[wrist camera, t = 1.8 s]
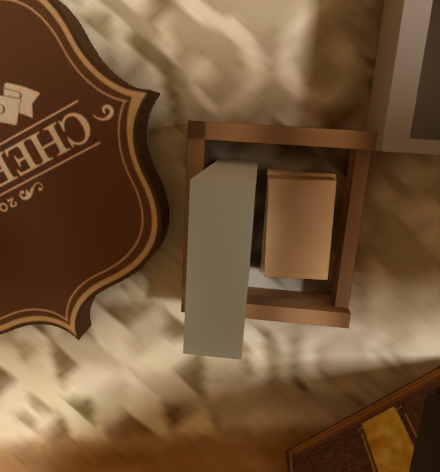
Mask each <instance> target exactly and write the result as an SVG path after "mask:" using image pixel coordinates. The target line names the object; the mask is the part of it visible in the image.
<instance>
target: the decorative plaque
mask: <svg viewBox="0 0 440 472" xmlns="http://www.w3.org/2000/svg"><path fill="white" fill-rule="evenodd" d="M159 95H160V93H157V92H154V91H151V90H144V89H139V88H135V87H133V86H131V85H129V84H128V83H127V82H125V81H123V80H122V79H121V78H120V77H118V76H117V75H116V74H114V73H113V72H112V70H110V69H109V68H108V66H107V65H106V64H105V63H104V62H103V60H102V59H101V58H100V56H99V55H98V53H97V52H96V50H95V49H94V47H93V45H92V44H91V42H90V40H89V38H88V36H87V35H86V33H85V31H84V29H83V27H82V26H81V24H80V22H79V21H78V19H77V18H76V17H75V16H74V15H73V13H72V12H71V11H70V10H69V9H68V8H67V7H66V5H64V4H63V3H61V2H60V1H59V0H0V334H3V333H6V332H9V331H11V330H14V329H17V328H20V327H23V326H27V325H32V324H47V325H53V326H57V327H60V328H62V329H64V330H66V331H68V332H70V333H71V334H72V335H74V336H75V337H76V338H77V339H78V340H79V339H80V338H81V337H82V336H83V334H84V333H85V332H86V331H87V330H88V329H89V328H90V326H91V321H90V308H91V305H92V302H93V300H94V298H95V296H96V295H97V294H98V293H100V292H101V291H103V290H105V289H107V288H108V287H110V286H112V285H114V284H116V283H118V282H120V281H122V280H124V279H126V278H128V277H130V276H131V275H133V274H134V273H135V272H137V271H138V270H139V269H140V268H141V267H142V266H143V265H144V264H145V263H146V262H147V261H148V260H149V259H150V258H151V257H152V255H153V254H154V253H155V252H156V251H157V250H158V248H159V247H160V245H161V244H162V242H163V240H164V238H165V235H166V234H167V229H168V224H169V205H168V201H167V197H166V193H165V190H164V187H163V185H162V183H161V180H160V178H159V176H158V174H157V172H156V170H155V168H154V165H153V163H152V160H151V158H150V154H149V150H148V146H147V136H146V130H147V122H148V118H149V114H150V112H151V109H152V107H153V105H154V104H155V101H156V100H157V98H158V97H159Z"/></svg>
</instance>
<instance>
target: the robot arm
mask: <svg viewBox="0 0 440 472" xmlns="http://www.w3.org/2000/svg"><path fill="white" fill-rule="evenodd" d="M409 472H440V386H439V387H437V388H436V389H435V391H434V393H428V394H427V395H426V398H425V401H424V406H423V410H422V415H421V419H420V424H419V428H418V433H417V437H416V442H415V446H414V451H413V455H412V460H411V464H410V469H409Z"/></svg>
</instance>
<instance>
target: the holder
mask: <svg viewBox="0 0 440 472" xmlns="http://www.w3.org/2000/svg"><path fill="white" fill-rule="evenodd" d="M366 131H371V132H378V135H377V142H376V148H375V150H377V151H383V152H399V153H415V154H430V155H440V0H384V5H383V12H382V19H381V26H380V33H379V40H378V47H377V54H376V61H375V69H374V76H373V83H372V90H371V97H370V104H369V111H368V118H367V125H366Z"/></svg>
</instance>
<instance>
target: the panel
mask: <svg viewBox="0 0 440 472" xmlns="http://www.w3.org/2000/svg"><path fill="white" fill-rule="evenodd" d="M257 169H258V161H250V160H235V159H219V160H217V161H216V162H214V163H213V164H212V165H210V166H209V167H207V168H206V169H205V170H203V171H202V172H200V173H199V174H197V175H196V176H195V177H193V178H192V179H190V198H189V223H188V248H187V273H186V299H185V324H184V349H183V353H184V354H194V355H203V356H213V357H222V358H232V359H241V355H242V345H243V334H244V323H245V312H246V301H247V291H248V280H249V269H250V256H251V244H252V231H253V219H254V207H255V194H256V182H257Z"/></svg>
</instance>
